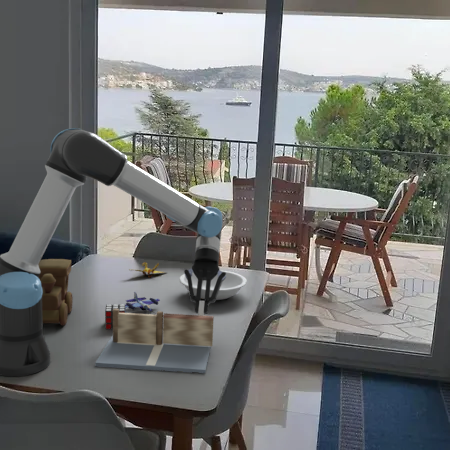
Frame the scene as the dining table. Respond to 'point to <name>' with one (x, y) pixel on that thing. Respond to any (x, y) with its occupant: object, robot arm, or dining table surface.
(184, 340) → the fence panel
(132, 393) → the dining table surface
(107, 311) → the puzzle toy
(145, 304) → the toy airplane
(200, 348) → the board
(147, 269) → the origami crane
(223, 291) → the soup bowl
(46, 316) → the wooden toy train
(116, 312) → the fence fixed section
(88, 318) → the dining table surface
